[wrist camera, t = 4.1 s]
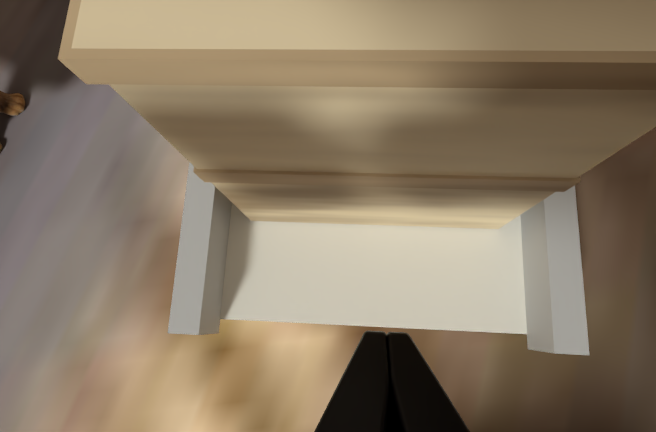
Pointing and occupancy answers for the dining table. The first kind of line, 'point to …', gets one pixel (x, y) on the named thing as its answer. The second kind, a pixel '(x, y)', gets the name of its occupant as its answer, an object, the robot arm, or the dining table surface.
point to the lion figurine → (11, 104)
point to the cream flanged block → (379, 98)
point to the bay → (382, 273)
